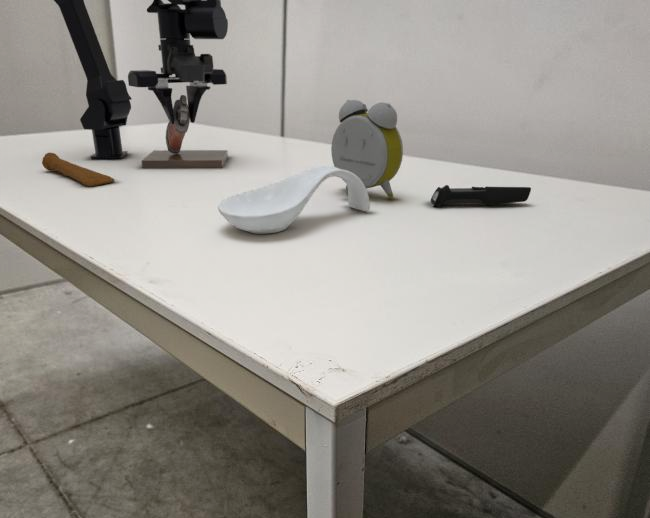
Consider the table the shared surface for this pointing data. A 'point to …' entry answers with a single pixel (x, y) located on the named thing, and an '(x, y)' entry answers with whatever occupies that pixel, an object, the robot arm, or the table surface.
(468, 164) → the table surface
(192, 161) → the board
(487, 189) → the electric trimmer
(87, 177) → the primitive tool
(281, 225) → the spoon rest
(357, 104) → the alarm clock
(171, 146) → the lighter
